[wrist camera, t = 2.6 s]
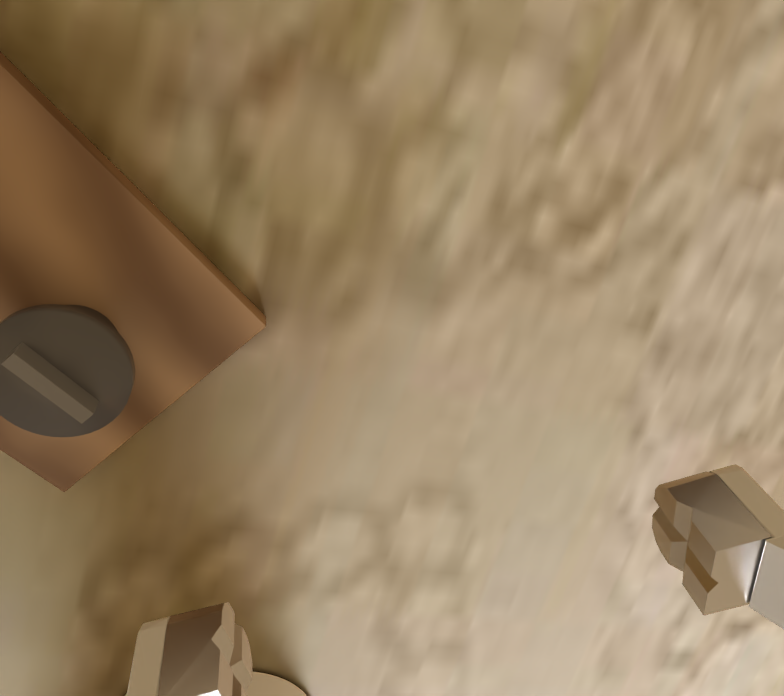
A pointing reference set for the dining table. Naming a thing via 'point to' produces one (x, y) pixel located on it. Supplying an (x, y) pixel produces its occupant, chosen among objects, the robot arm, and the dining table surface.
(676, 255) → the dining table surface
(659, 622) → the dining table surface
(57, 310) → the control knob
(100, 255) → the walnut board
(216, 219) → the dining table surface
